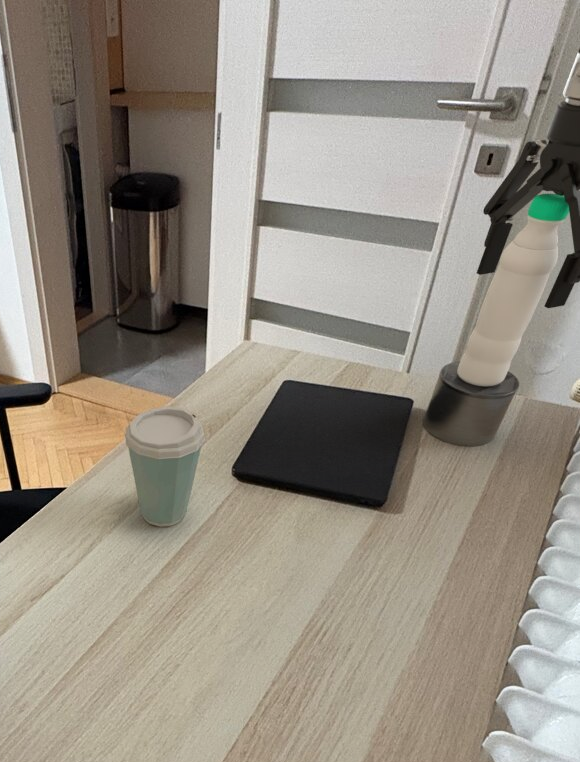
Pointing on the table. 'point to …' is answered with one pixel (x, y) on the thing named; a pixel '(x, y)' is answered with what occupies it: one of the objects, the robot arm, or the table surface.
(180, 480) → the disposable coffee cup
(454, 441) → the tin
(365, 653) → the table surface
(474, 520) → the table surface
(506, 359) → the water bottle
